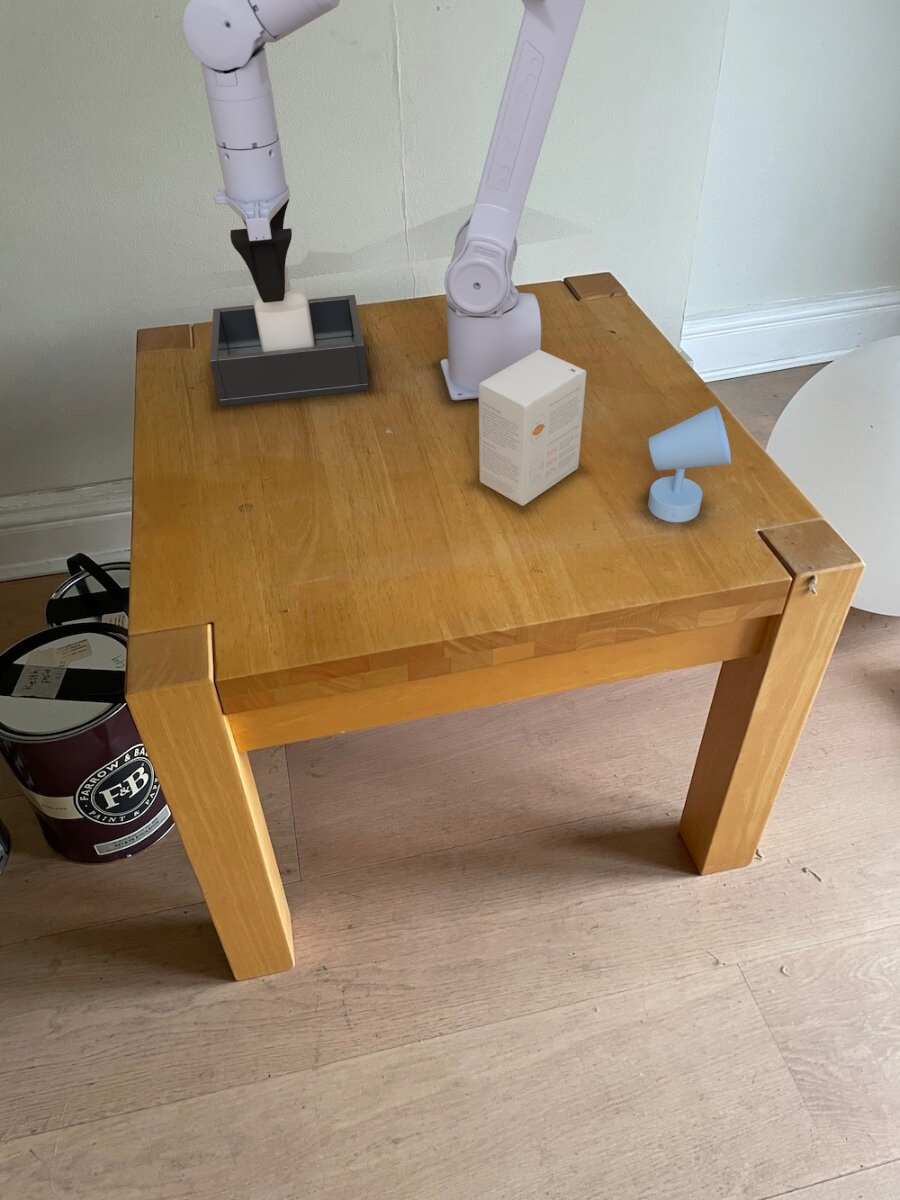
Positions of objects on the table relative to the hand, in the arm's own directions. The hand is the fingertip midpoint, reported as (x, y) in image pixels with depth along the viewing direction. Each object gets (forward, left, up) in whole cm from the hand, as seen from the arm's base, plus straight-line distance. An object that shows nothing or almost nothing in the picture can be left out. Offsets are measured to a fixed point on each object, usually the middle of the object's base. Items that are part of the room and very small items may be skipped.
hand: (272, 283), depth 91 cm
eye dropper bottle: (-1, 0, -9) cm, 9 cm away
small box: (-22, +24, -10) cm, 34 cm away
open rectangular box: (-1, 0, -10) cm, 10 cm away
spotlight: (-34, +31, -10) cm, 47 cm away
